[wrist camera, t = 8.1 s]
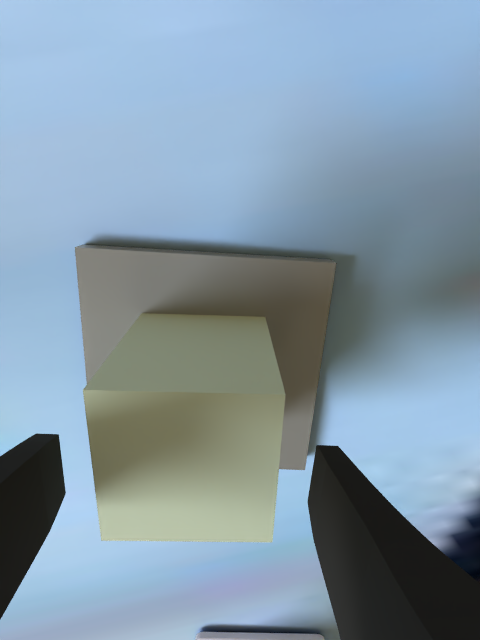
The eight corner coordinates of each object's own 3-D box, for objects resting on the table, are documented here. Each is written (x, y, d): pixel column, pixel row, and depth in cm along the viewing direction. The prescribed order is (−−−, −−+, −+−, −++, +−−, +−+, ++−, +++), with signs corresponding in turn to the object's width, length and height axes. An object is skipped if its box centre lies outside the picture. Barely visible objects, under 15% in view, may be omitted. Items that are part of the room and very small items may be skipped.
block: (258, 421, 16) (272, 542, 11) (147, 419, 16) (101, 540, 10) (265, 316, 15) (285, 394, 9) (141, 313, 14) (82, 389, 9)
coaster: (301, 458, 18) (304, 469, 17) (99, 450, 18) (94, 461, 17) (330, 259, 15) (336, 263, 14) (83, 244, 14) (75, 247, 14)
